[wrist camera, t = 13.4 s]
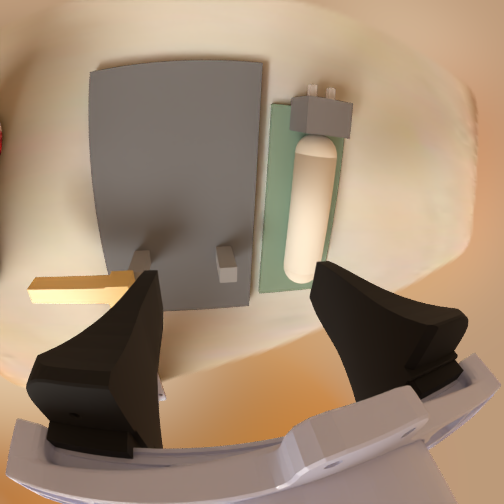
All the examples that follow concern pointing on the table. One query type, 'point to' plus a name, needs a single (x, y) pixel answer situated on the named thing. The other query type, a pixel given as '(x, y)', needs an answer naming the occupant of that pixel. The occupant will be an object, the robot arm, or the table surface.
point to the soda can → (0, 138)
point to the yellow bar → (81, 288)
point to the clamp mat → (178, 175)
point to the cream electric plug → (313, 178)
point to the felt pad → (285, 201)
